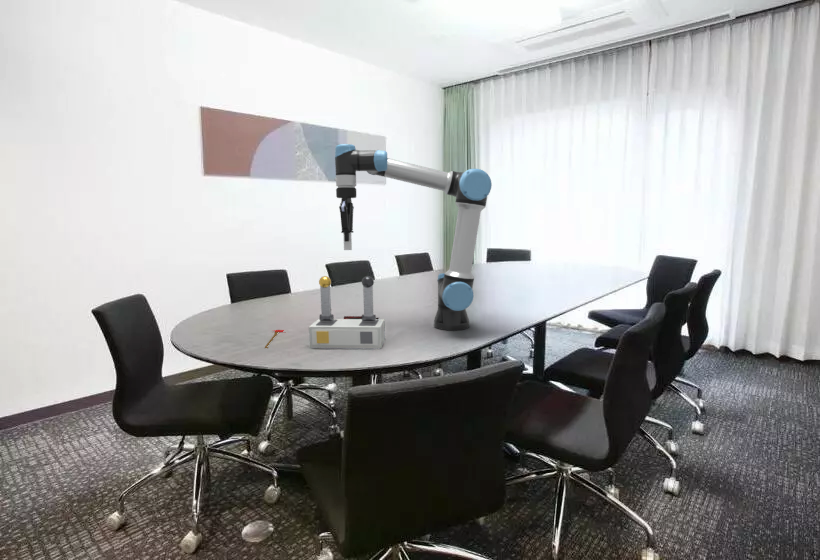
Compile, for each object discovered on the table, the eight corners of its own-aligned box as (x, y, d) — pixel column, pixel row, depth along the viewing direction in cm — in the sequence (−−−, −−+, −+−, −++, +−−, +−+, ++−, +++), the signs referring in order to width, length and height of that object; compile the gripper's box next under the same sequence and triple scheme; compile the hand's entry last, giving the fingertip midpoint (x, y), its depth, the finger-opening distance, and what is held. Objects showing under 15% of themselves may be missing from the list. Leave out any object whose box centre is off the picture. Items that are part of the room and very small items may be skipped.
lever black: (376, 319, 166) (375, 275, 164) (374, 322, 162) (373, 276, 160) (363, 319, 167) (362, 275, 164) (361, 322, 162) (360, 276, 160)
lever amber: (334, 319, 168) (332, 275, 165) (331, 322, 163) (329, 277, 161) (322, 319, 168) (320, 275, 166) (318, 322, 164) (316, 277, 161)
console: (385, 339, 171) (384, 318, 170) (380, 349, 159) (379, 326, 158) (319, 338, 173) (318, 318, 172) (309, 348, 161) (308, 326, 160)
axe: (294, 331, 187) (271, 331, 188) (293, 329, 187) (271, 328, 188) (267, 350, 162) (241, 349, 163) (267, 347, 162) (241, 347, 163)
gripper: (340, 188, 173) (342, 248, 177) (331, 186, 160) (333, 251, 164) (359, 188, 172) (361, 248, 176) (351, 186, 159) (353, 251, 163)
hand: (347, 249), depth 170 cm, fingers closed
